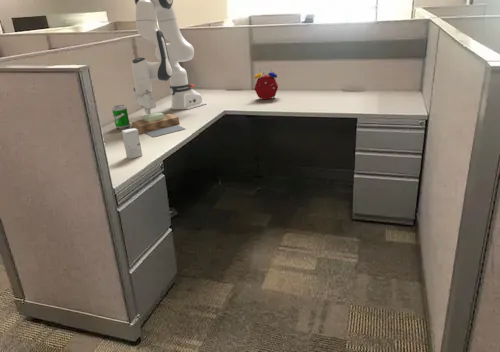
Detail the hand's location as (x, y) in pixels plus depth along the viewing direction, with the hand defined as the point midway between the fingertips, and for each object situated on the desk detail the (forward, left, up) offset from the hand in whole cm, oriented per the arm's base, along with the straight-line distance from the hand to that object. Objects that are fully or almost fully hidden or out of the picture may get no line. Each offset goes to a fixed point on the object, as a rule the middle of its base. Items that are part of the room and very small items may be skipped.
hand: (148, 114), depth 232 cm
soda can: (+14, -5, -6) cm, 16 cm away
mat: (0, +21, -5) cm, 22 cm away
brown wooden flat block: (0, +9, -5) cm, 11 cm away
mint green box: (0, +8, 0) cm, 9 cm away
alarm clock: (-76, +7, -6) cm, 77 cm away
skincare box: (+26, +47, -6) cm, 54 cm away
